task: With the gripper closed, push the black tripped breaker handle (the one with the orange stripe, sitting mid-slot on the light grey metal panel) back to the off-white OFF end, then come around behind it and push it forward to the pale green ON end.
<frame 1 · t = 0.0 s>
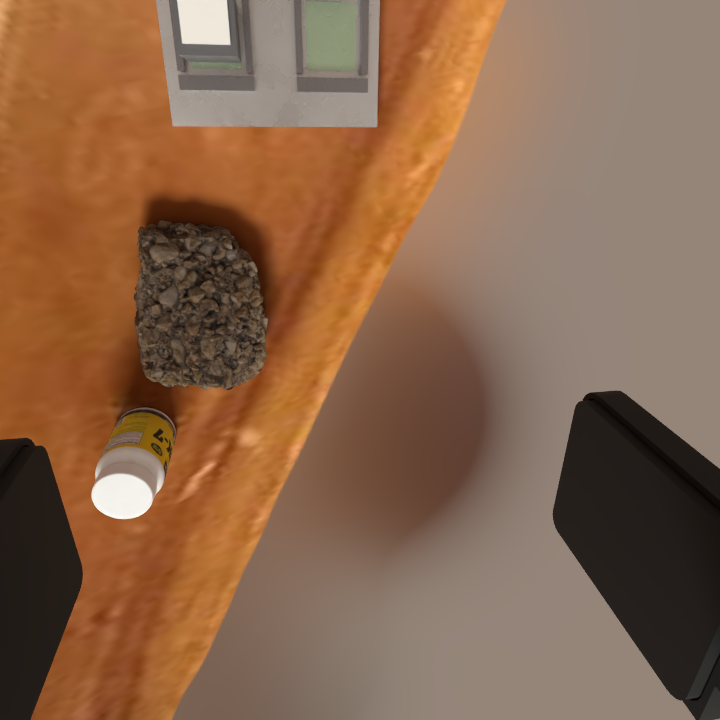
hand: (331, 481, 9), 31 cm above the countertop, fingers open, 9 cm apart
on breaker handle: (215, 36, 32), resting on panel
supplement bottle: (147, 429, 43), on the countertop
concrete sample: (206, 297, 40), on the countertop
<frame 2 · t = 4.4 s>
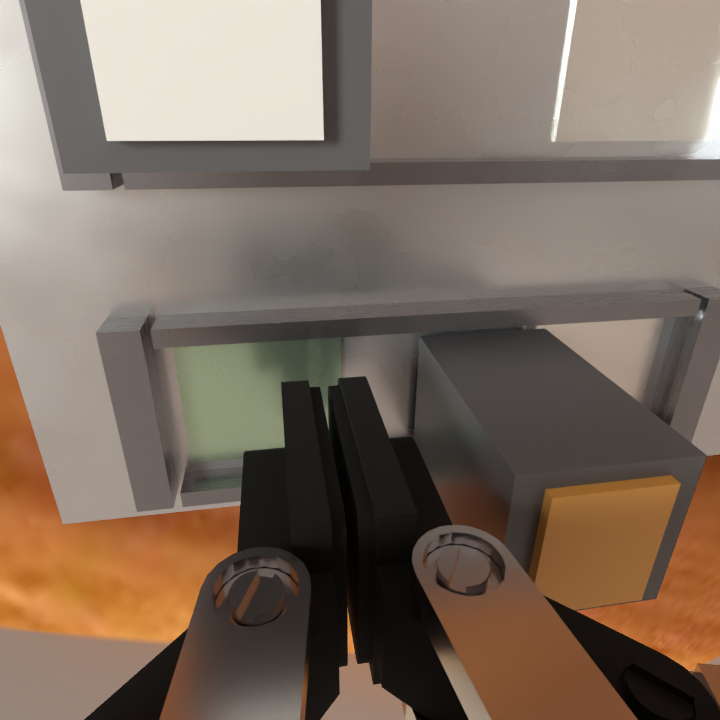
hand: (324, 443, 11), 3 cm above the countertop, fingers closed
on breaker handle: (237, 56, 10), resting on panel
tripped handle: (524, 453, 10), point 4 cm above the countertop, slide at -1.1 cm, touching gripper
panel: (501, 226, 13), on the countertop
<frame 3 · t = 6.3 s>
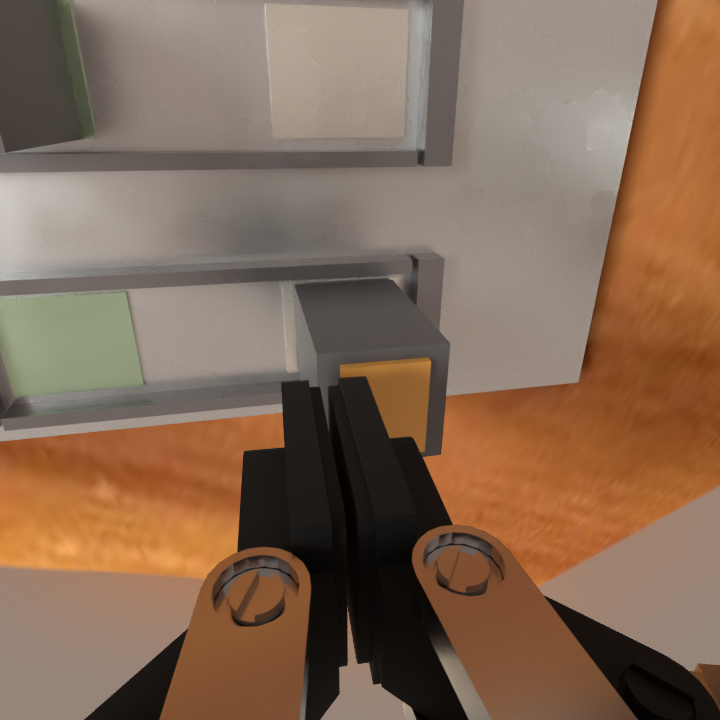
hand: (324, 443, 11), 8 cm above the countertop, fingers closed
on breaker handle: (23, 73, 14), resting on panel
tripped handle: (361, 363, 14), point 4 cm above the countertop, slide at -4.0 cm
panel: (268, 206, 16), on the countertop
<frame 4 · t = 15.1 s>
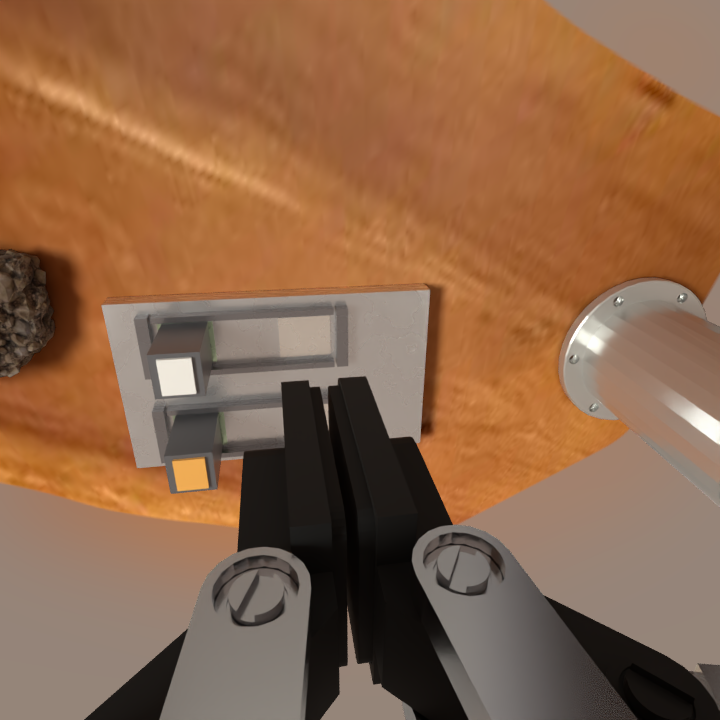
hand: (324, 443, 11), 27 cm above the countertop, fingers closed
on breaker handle: (190, 334, 37), resting on panel
tripped handle: (195, 451, 36), point 4 cm above the countertop, slide at 4.0 cm
panel: (278, 372, 40), on the countertop
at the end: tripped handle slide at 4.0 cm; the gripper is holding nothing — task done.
